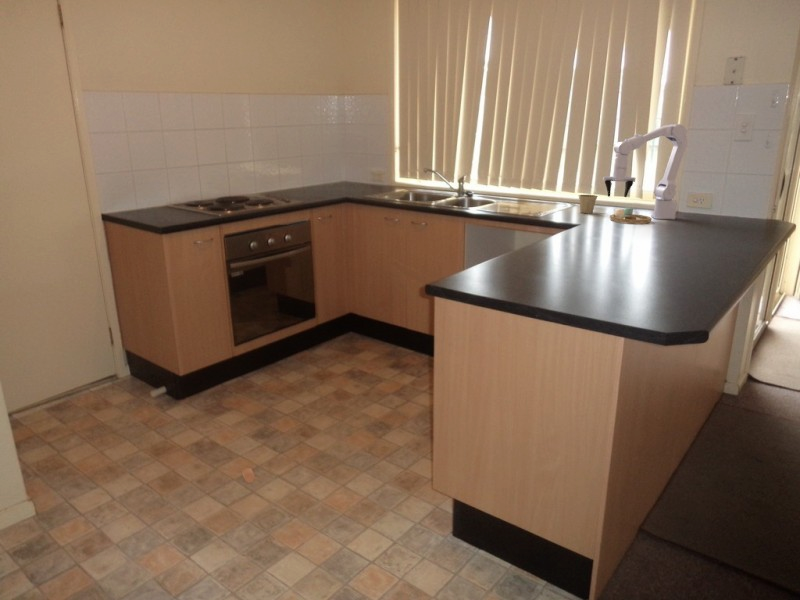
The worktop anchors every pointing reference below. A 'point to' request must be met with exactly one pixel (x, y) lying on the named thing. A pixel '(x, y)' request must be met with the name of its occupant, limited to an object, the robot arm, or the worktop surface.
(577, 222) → the worktop surface
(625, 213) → the bead teal
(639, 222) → the ring tray
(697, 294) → the worktop surface
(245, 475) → the pink rounded lump
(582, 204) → the flower pot
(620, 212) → the bead cream
